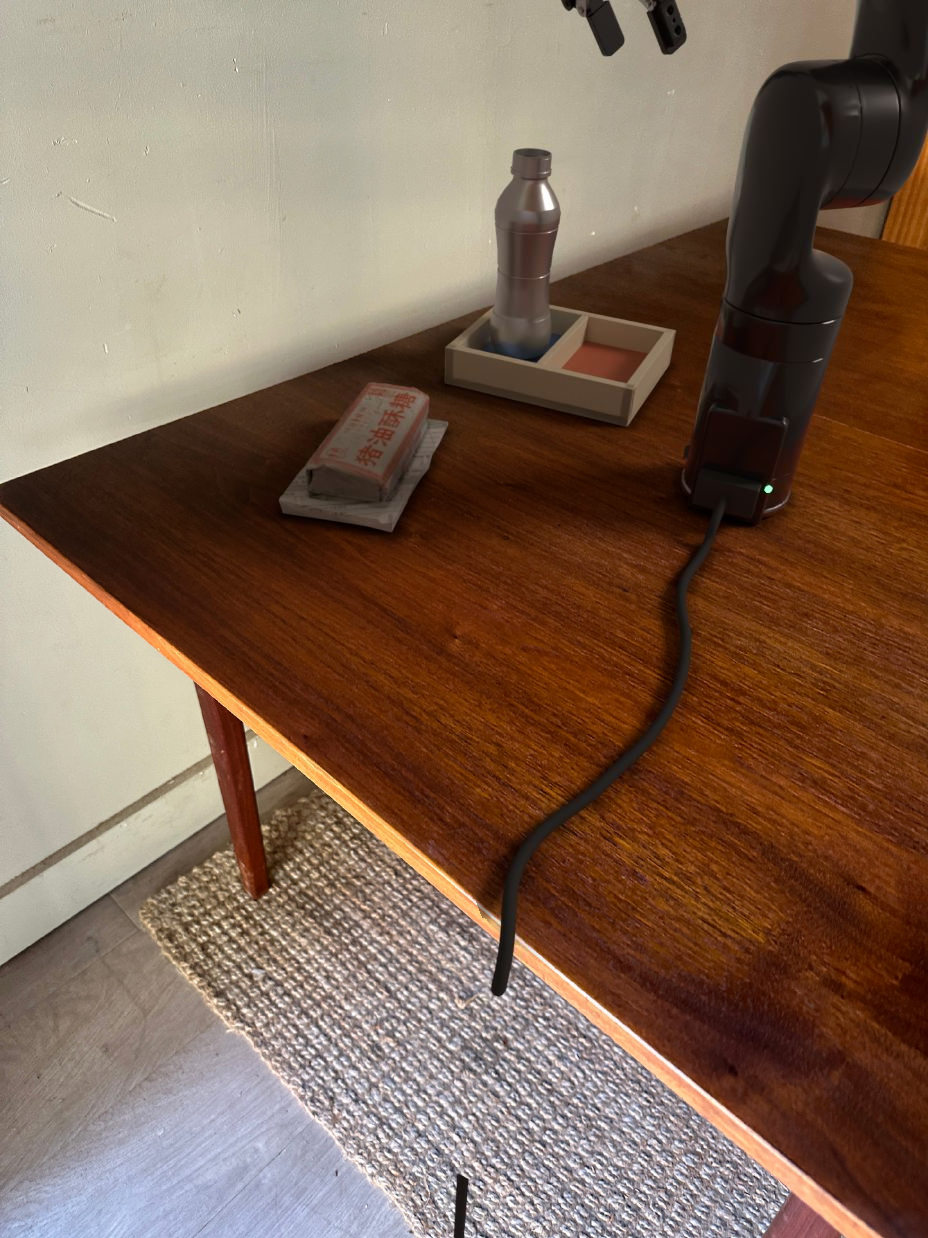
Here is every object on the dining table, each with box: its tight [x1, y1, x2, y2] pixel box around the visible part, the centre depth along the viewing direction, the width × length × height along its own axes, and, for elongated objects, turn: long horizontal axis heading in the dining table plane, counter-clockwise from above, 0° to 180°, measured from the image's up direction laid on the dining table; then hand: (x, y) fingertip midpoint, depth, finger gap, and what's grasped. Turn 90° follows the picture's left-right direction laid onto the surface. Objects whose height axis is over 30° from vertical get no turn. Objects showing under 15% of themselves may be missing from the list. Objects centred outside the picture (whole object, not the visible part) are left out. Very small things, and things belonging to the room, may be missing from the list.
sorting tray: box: [444, 304, 677, 427], centre depth 97 cm, size 16×20×4 cm
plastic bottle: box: [489, 147, 562, 359], centre depth 93 cm, size 6×7×20 cm
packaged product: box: [278, 381, 449, 533], centre depth 80 cm, size 18×5×10 cm
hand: (644, 49), depth 77 cm, fingers open, 8 cm apart
